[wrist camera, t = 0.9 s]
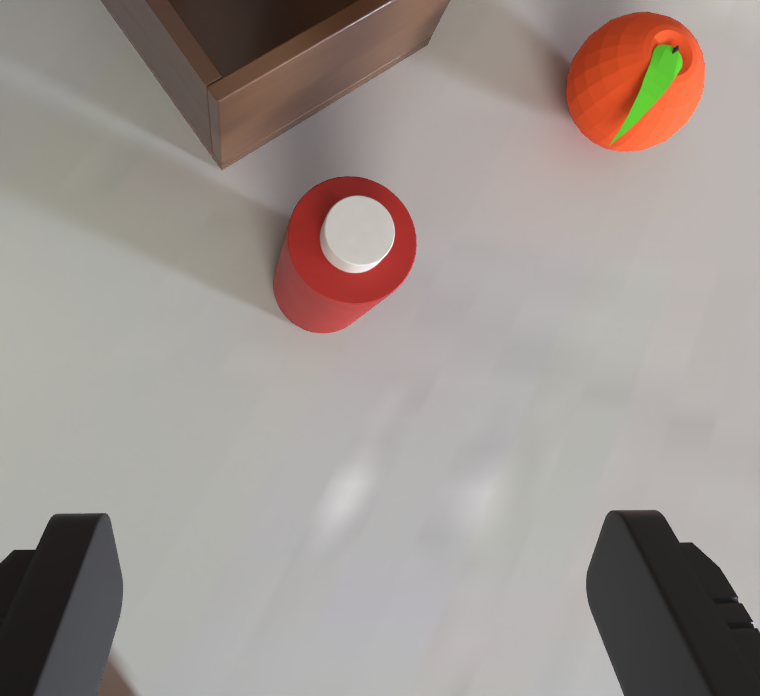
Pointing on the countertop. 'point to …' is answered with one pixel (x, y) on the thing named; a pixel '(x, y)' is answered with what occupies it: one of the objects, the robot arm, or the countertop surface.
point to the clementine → (635, 81)
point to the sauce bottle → (342, 253)
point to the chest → (267, 58)
